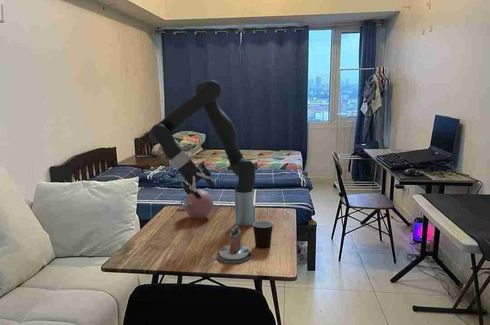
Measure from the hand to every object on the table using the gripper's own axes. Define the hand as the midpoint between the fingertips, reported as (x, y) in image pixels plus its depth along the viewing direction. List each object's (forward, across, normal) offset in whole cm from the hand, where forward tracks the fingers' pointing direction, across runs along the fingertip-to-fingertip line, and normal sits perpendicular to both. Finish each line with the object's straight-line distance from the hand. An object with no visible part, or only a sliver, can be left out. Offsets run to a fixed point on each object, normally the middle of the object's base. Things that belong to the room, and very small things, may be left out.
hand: (206, 192), depth 164 cm
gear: (+11, +18, +56) cm, 60 cm away
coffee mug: (+34, +1, -8) cm, 34 cm away
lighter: (+24, -13, -10) cm, 29 cm away
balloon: (+14, +7, +38) cm, 41 cm away
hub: (+25, -14, -9) cm, 30 cm away
